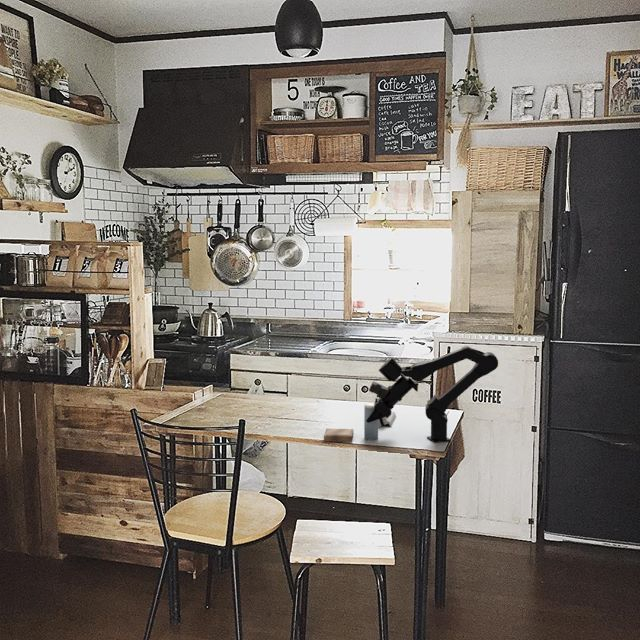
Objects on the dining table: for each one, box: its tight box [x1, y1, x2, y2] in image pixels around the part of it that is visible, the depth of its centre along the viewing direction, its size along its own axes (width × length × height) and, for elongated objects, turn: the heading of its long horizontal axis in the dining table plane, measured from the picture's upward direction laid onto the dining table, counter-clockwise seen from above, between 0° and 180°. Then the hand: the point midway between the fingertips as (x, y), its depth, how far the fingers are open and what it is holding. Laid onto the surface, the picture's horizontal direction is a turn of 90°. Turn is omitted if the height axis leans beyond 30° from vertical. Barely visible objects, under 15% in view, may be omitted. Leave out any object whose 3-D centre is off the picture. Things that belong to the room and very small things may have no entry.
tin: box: [363, 403, 379, 441], centre depth 279 cm, size 5×5×12 cm
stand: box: [323, 428, 354, 443], centre depth 280 cm, size 10×10×2 cm
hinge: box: [373, 401, 397, 428], centre depth 303 cm, size 17×5×10 cm, turn 168°
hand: (367, 419), depth 279 cm, fingers closed on tin, 5 cm apart
